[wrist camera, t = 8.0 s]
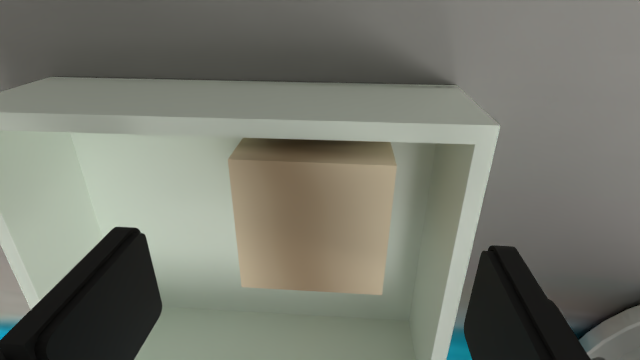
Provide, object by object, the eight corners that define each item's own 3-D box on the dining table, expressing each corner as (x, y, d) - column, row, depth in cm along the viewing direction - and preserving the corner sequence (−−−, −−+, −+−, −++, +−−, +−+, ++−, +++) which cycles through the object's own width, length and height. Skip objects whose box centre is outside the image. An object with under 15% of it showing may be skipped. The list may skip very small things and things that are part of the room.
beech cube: (383, 114, 15) (397, 165, 11) (373, 218, 18) (382, 295, 13) (262, 110, 16) (227, 159, 11) (268, 213, 18) (241, 286, 14)
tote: (456, 85, 15) (500, 125, 11) (416, 320, 21) (434, 408, 17) (49, 76, 16) (-63, 110, 12) (121, 304, 22) (64, 383, 18)
